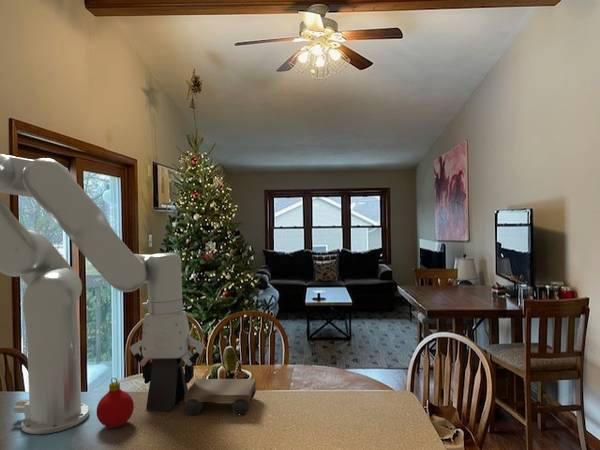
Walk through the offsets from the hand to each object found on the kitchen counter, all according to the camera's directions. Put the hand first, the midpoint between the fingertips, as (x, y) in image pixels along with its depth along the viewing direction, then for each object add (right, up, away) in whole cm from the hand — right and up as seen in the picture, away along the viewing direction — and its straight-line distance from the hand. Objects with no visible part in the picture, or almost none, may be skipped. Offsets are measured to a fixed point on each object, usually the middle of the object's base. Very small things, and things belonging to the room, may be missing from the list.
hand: (168, 381), depth 100 cm
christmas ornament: (-8, -6, -11) cm, 14 cm away
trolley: (+13, -5, -3) cm, 14 cm away
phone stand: (0, -5, 0) cm, 5 cm away
